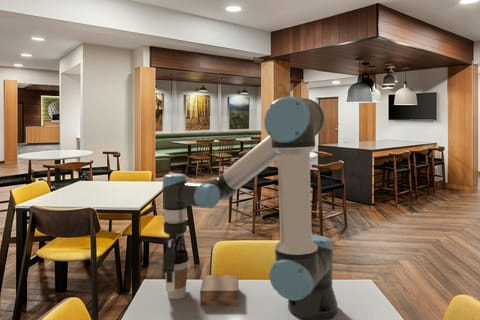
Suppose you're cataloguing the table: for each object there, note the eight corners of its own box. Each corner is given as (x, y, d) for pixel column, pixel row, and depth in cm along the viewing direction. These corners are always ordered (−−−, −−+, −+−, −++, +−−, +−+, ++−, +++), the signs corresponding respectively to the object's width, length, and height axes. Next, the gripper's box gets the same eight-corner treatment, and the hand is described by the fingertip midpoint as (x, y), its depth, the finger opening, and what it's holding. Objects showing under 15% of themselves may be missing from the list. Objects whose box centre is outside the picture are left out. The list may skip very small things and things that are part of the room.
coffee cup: (184, 302, 122) (183, 257, 121) (160, 299, 124) (158, 255, 122) (192, 290, 130) (191, 248, 129) (169, 288, 132) (168, 247, 130)
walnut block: (238, 288, 132) (238, 275, 131) (238, 305, 120) (237, 290, 119) (204, 289, 132) (203, 275, 131) (200, 305, 120) (200, 290, 119)
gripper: (174, 211, 137) (174, 267, 139) (151, 231, 112) (153, 298, 115) (194, 211, 136) (194, 268, 139) (176, 231, 112) (177, 299, 114)
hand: (176, 282), depth 127 cm, fingers open, 13 cm apart
